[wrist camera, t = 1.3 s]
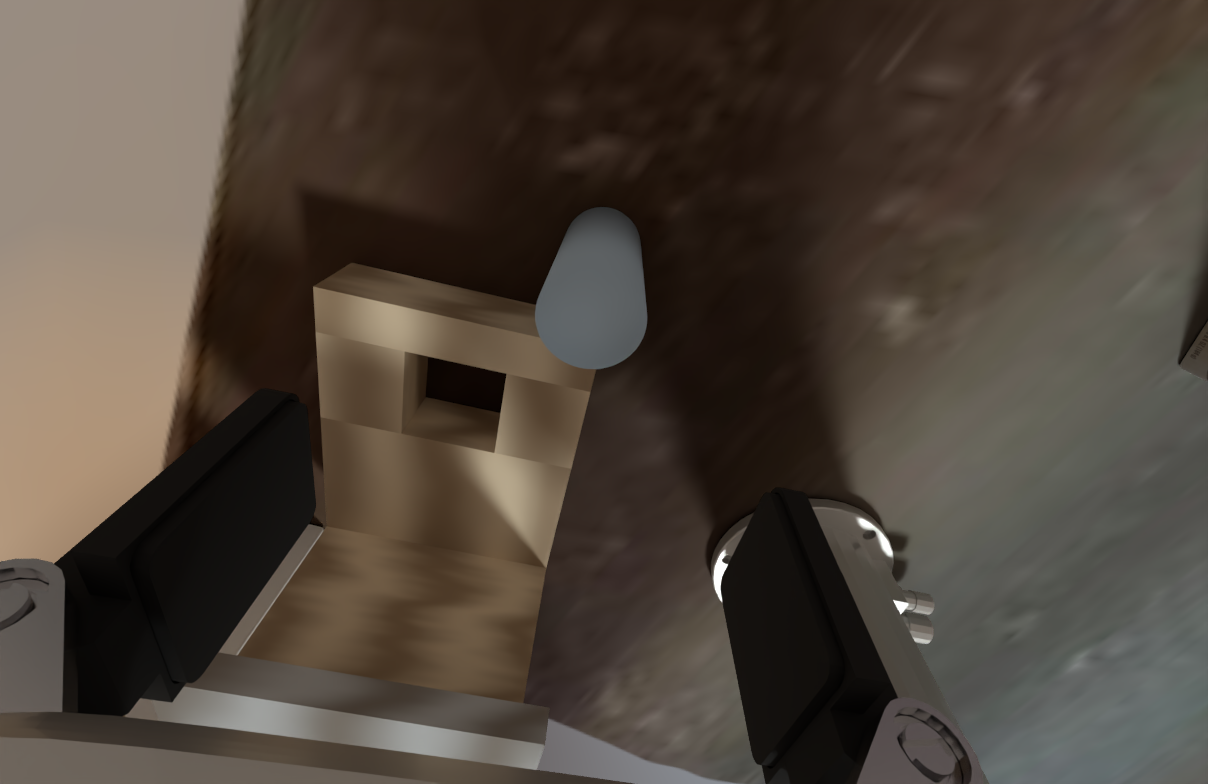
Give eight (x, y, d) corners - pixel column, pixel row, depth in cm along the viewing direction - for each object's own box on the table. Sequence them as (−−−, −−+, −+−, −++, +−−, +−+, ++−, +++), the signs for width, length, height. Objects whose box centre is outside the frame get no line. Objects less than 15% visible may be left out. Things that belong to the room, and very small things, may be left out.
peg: (649, 217, 26) (661, 279, 18) (630, 291, 28) (631, 379, 20) (572, 198, 26) (545, 251, 17) (557, 274, 28) (527, 356, 19)
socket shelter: (621, 324, 29) (615, 533, 15) (560, 550, 38) (523, 808, 25) (333, 258, 28) (44, 421, 14) (342, 507, 37) (172, 755, 23)
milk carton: (225, 502, 37) (-91, 825, 21) (325, 525, 38) (96, 854, 22) (232, 567, 41) (-34, 888, 24) (324, 587, 42) (126, 911, 25)
